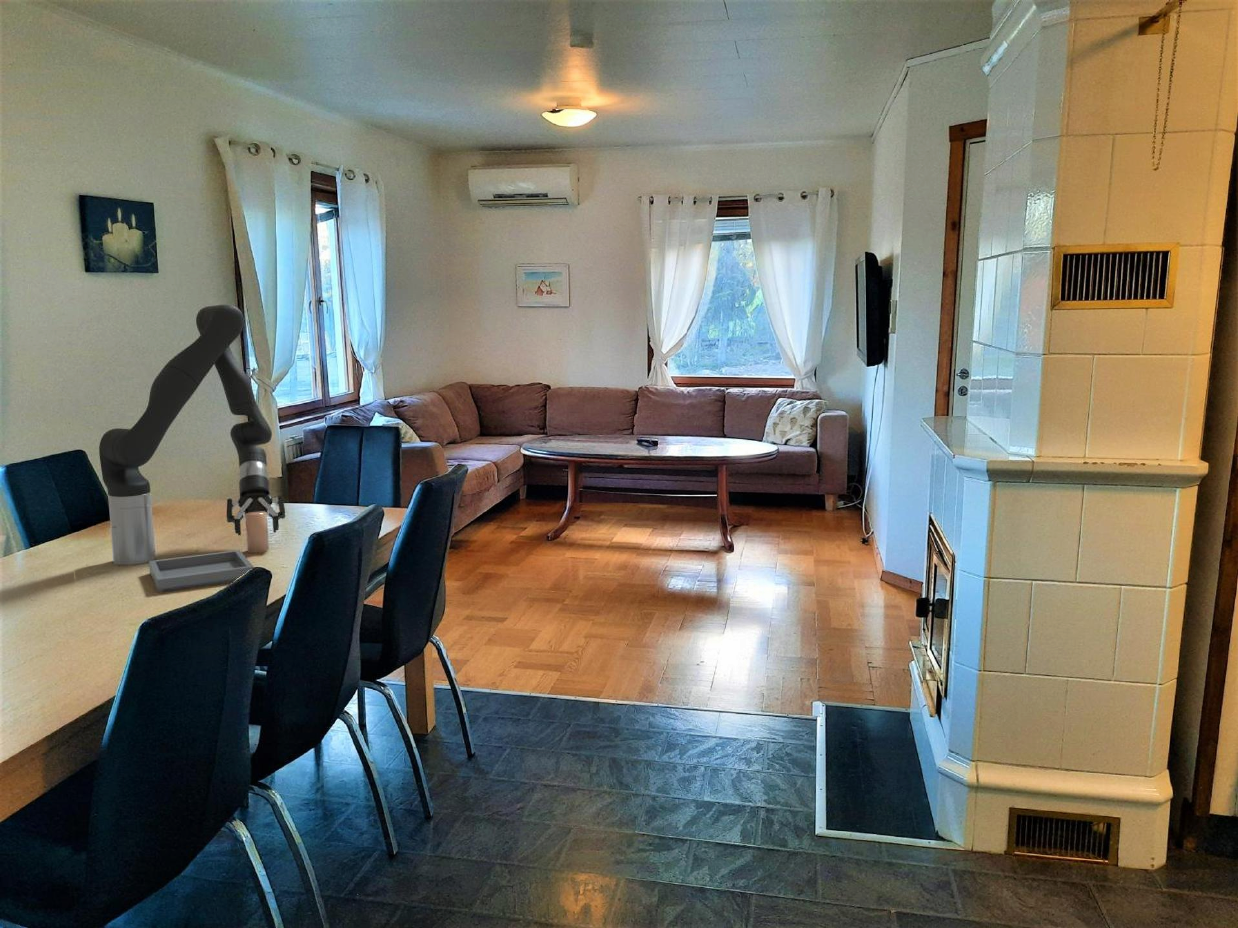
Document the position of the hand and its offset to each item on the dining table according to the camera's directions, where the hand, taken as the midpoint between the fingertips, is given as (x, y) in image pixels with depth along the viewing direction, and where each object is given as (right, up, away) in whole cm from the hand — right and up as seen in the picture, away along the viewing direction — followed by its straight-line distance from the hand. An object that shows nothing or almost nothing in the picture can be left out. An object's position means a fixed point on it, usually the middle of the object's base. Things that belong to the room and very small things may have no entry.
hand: (257, 532), depth 228 cm
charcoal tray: (-4, -9, -22) cm, 24 cm away
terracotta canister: (-1, -5, +2) cm, 5 cm away
